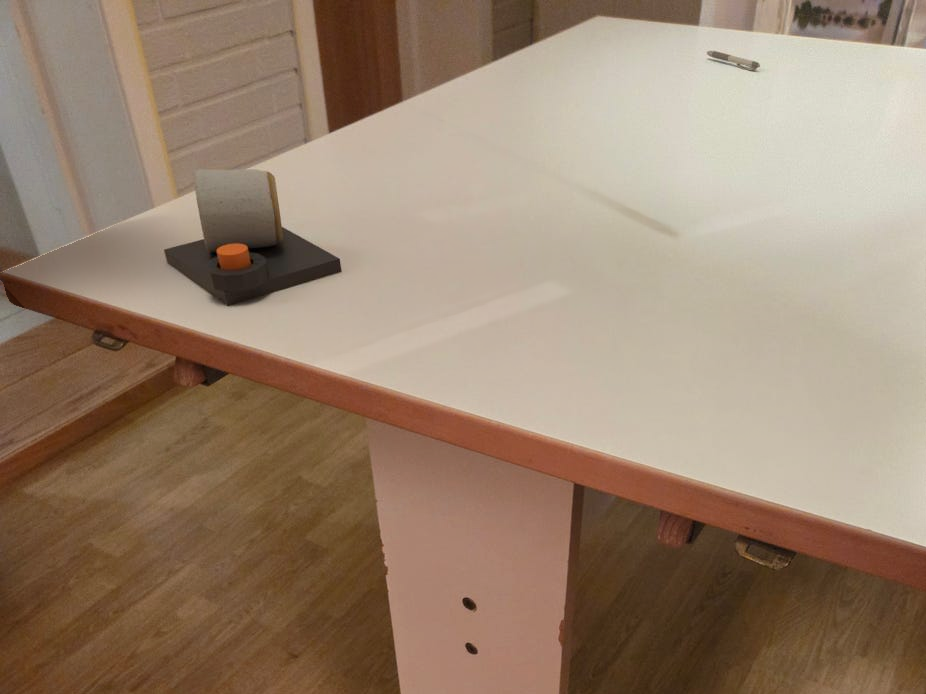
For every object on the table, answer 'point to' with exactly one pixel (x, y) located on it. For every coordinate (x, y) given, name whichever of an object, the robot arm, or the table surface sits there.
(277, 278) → the dark grey flat block
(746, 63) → the pen
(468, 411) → the table surface
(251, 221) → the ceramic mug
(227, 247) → the button
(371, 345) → the table surface
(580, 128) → the table surface
